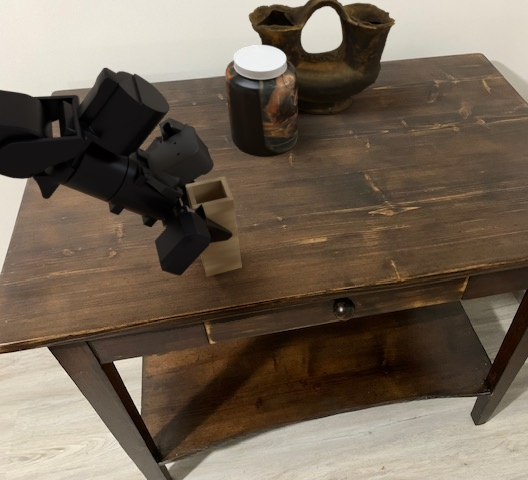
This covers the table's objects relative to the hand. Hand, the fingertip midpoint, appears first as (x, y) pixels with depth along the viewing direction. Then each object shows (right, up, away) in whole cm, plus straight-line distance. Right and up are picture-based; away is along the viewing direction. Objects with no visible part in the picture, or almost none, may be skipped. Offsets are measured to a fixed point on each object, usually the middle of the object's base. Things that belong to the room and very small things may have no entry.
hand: (225, 224), depth 67 cm
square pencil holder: (-1, -5, +4) cm, 7 cm away
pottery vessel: (+12, +25, +35) cm, 44 cm away
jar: (+2, +16, +27) cm, 31 cm away
